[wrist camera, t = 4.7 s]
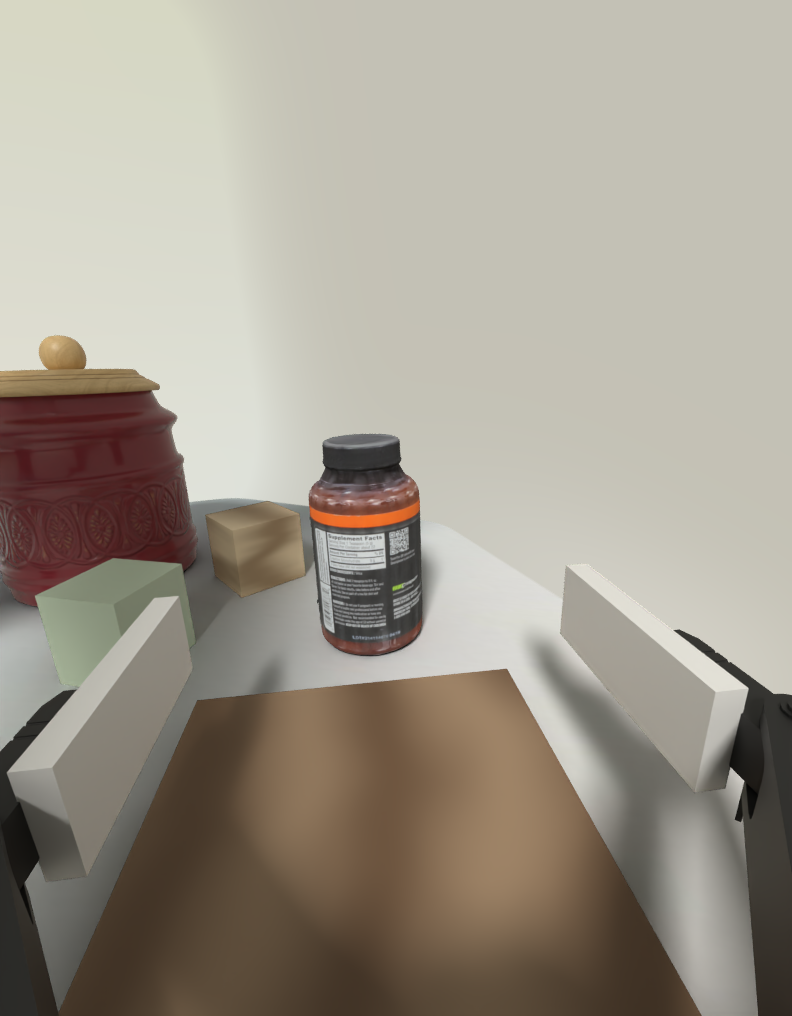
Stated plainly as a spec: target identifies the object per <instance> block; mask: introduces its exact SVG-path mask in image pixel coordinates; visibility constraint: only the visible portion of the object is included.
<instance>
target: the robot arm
mask: <svg viewBox="0 0 792 1016" xmlns="http://www.w3.org/2000/svg"><path fill="white" fill-rule="evenodd" d="M560 634H561V635H562V636H563V637H564V639H565V640H566V641H567V642H568V643H569V645H570V646H571V647H572V648H573V649H574V650H575V652H576V653H577V654H578V655H579V656H580V658H581V659H582V660H583V661H584V662H585V664H586V665H587V666H588V667H589V668H590V669H591V671H592V672H593V673H594V674H595V675H596V677H597V678H598V679H599V680H600V681H601V682H602V684H603V685H604V686H605V687H606V688H607V690H608V691H609V692H610V693H611V694H612V695H613V697H614V698H615V699H616V700H617V701H618V703H619V704H620V705H621V706H622V707H623V709H624V710H625V711H626V712H627V713H628V714H629V716H630V717H631V718H632V719H633V720H634V722H635V723H636V724H637V725H638V726H639V727H640V729H641V730H642V731H643V732H644V733H645V735H646V736H647V737H648V738H649V739H650V740H651V742H652V743H653V744H654V745H655V746H656V748H657V749H658V750H659V751H660V752H661V754H662V755H663V756H664V757H665V758H666V759H667V761H668V762H669V763H670V764H671V765H672V767H673V768H674V769H675V770H676V771H677V772H678V774H679V775H680V776H681V777H682V778H683V780H684V781H685V782H686V783H687V784H688V785H689V787H690V788H691V789H692V790H693V791H694V793H696V792H704V791H711V790H718V789H725V787H726V783H727V779H728V775H729V770H730V767H731V768H732V769H733V770H734V771H735V772H736V773H737V774H738V775H739V776H740V777H741V778H742V779H743V780H744V785H743V789H742V793H741V797H740V801H739V805H738V809H737V813H736V817H735V820H737V821H739V822H741V821H742V818H743V822H744V835H745V848H746V861H747V874H748V887H749V900H750V913H751V926H752V939H753V952H754V965H755V978H756V991H757V1004H758V1016H792V695H787V694H773V693H772V692H770V691H769V690H768V689H766V688H765V687H763V686H762V685H761V684H759V683H758V682H757V681H756V680H754V679H753V678H751V677H750V676H749V675H747V674H746V673H745V672H743V671H742V670H741V669H739V668H738V667H737V666H735V665H734V664H732V663H731V662H730V663H729V662H728V661H727V659H726V658H724V657H723V656H722V655H720V654H719V653H715V651H714V650H713V649H712V648H711V647H709V646H708V645H707V644H705V643H704V642H702V641H701V640H700V639H698V638H696V637H694V636H692V635H690V634H687V633H685V632H683V631H681V630H672V629H671V628H669V627H668V626H667V625H666V624H664V623H663V622H662V621H661V620H659V619H658V618H657V617H655V616H654V615H653V614H651V613H650V612H649V611H648V610H646V609H645V608H644V607H642V606H641V605H640V604H638V603H637V602H636V601H634V600H633V599H632V598H630V597H629V596H628V595H627V594H625V593H624V592H623V591H621V590H620V589H619V588H618V587H616V586H615V585H614V584H612V583H611V582H610V581H609V580H607V579H606V578H605V577H603V576H602V575H601V574H599V573H598V572H597V571H596V570H594V569H593V568H592V567H590V566H589V565H588V564H575V565H566V571H565V582H564V594H563V606H562V617H561V629H560ZM192 670H193V666H192V661H191V656H190V650H189V645H188V640H187V635H186V629H185V624H184V619H183V614H182V608H181V603H180V598H179V596H172V597H160V598H154V599H153V600H152V601H151V602H150V604H149V605H148V606H147V607H146V608H145V610H144V611H143V612H142V613H141V614H140V616H139V617H138V618H137V619H136V620H135V621H134V623H133V624H132V625H131V626H130V627H129V629H128V630H127V631H126V632H125V633H124V634H123V636H122V637H121V638H120V639H119V640H118V642H117V643H116V644H115V645H114V646H113V647H112V649H111V650H110V651H109V652H108V653H107V655H106V656H105V657H104V658H103V659H102V660H101V662H100V663H99V664H98V665H97V666H96V668H95V669H94V670H93V671H92V672H91V674H90V675H89V676H88V677H87V678H86V679H85V681H84V682H83V683H82V684H81V685H80V687H79V688H78V689H77V690H68V691H63V692H61V693H60V694H58V695H57V696H56V697H54V698H53V699H51V700H50V701H48V702H47V703H46V704H44V705H43V706H41V708H40V709H39V710H38V711H37V712H36V713H35V714H34V715H33V716H32V717H31V719H30V720H29V721H28V722H27V723H26V726H23V727H22V728H21V730H20V731H19V732H18V733H17V734H16V735H15V736H14V739H13V741H10V742H9V743H8V744H7V745H6V746H5V747H4V748H3V749H2V750H1V752H0V1016H59V1014H58V1010H57V1006H56V1002H55V998H54V994H53V990H52V986H51V982H50V978H49V974H48V970H47V966H46V962H45V958H44V954H43V950H42V946H41V942H40V938H39V934H38V929H37V925H36V921H35V917H34V913H33V909H32V905H31V901H30V897H29V893H28V891H27V888H26V885H25V881H26V880H27V878H28V876H29V875H30V873H31V872H32V870H33V868H34V867H35V865H36V864H37V862H38V861H39V864H40V867H41V869H42V872H43V875H44V878H45V880H46V882H50V881H58V880H65V879H72V878H79V877H87V876H88V874H89V872H90V870H91V868H92V866H93V864H94V862H95V860H96V858H97V856H98V854H99V852H100V850H101V848H102V846H103V844H104V842H105V840H106V838H107V836H108V834H109V833H110V831H111V829H112V827H113V825H114V823H115V821H116V819H117V817H118V815H119V813H120V811H121V809H122V807H123V805H124V803H125V801H126V799H127V797H128V795H129V793H130V791H131V789H132V787H133V785H134V783H135V781H136V779H137V778H138V776H139V774H140V772H141V770H142V768H143V766H144V764H145V762H146V760H147V758H148V756H149V754H150V752H151V750H152V748H153V746H154V744H155V742H156V740H157V738H158V736H159V734H160V732H161V730H162V728H163V726H164V725H165V723H166V721H167V719H168V717H169V715H170V713H171V711H172V709H173V707H174V705H175V703H176V701H177V699H178V697H179V695H180V693H181V691H182V689H183V687H184V685H185V683H186V681H187V679H188V677H189V675H190V673H191V671H192Z"/></svg>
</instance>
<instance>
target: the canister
mask: <svg viewBox="0 0 792 1016" xmlns="http://www.w3.org/2000/svg"><path fill="white" fill-rule="evenodd" d="M39 356H40V359H41V361H42V363H43V365H44V366H45V367H46V368H47V369H48V370H21V371H0V572H1V573H2V579H3V582H4V583H5V585H6V586H7V587H8V588H9V589H10V590H11V593H12V595H13V597H14V598H15V599H16V600H17V601H19V602H21V603H23V604H27V605H31V606H37V607H38V605H37V602H36V598H35V595H38V594H40V593H42V592H44V591H46V590H48V589H50V588H52V587H54V586H56V585H58V584H61V583H63V582H65V581H67V580H69V579H71V578H73V577H75V576H77V575H79V574H81V573H83V572H86V571H88V570H90V569H92V568H94V567H96V566H98V565H100V564H102V563H104V562H106V561H108V560H111V559H113V558H116V559H128V560H141V561H153V562H165V563H177V564H182V569H183V571H184V570H186V569H187V568H188V567H189V566H190V565H191V564H192V563H193V562H194V560H195V559H196V556H197V552H196V546H197V542H198V538H197V535H196V527H195V525H194V524H193V522H192V516H191V511H190V505H189V499H188V493H187V487H186V482H185V475H184V471H183V462H184V458H183V456H182V455H181V454H179V453H178V452H177V450H176V447H175V443H174V440H173V435H172V430H171V429H172V426H173V424H174V423H175V422H176V420H177V416H176V415H175V414H174V413H172V412H171V411H169V410H167V409H165V408H163V407H162V406H160V404H159V403H158V401H157V399H156V398H155V396H154V394H153V392H152V391H151V390H159V389H160V386H159V384H157V383H155V382H153V381H151V380H149V379H146V378H145V377H143V376H141V375H139V374H138V373H137V371H136V370H133V369H84V368H85V366H86V355H85V352H84V350H83V348H82V347H81V346H80V344H79V343H78V342H77V341H75V340H74V339H72V338H69V337H66V336H50V337H47V338H45V339H44V340H43V341H42V343H41V344H40V347H39Z"/></svg>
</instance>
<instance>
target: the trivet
mask: <svg viewBox="0 0 792 1016" xmlns="http://www.w3.org/2000/svg"><path fill="white" fill-rule="evenodd" d="M58 1014H59V1016H701V1014H700V1012H699V1010H698V1008H697V1007H696V1005H695V1003H694V1001H693V999H692V998H691V996H690V994H689V992H688V991H687V989H686V987H685V985H684V983H683V982H682V980H681V978H680V976H679V975H678V973H677V971H676V969H675V967H674V966H673V964H672V962H671V960H670V959H669V957H668V955H667V953H666V951H665V950H664V948H663V946H662V944H661V942H660V941H659V939H658V937H657V935H656V934H655V932H654V930H653V928H652V926H651V925H650V923H649V921H648V919H647V918H646V916H645V914H644V912H643V910H642V909H641V907H640V905H639V903H638V902H637V900H636V898H635V896H634V894H633V893H632V891H631V889H630V887H629V885H628V884H627V882H626V880H625V878H624V877H623V875H622V873H621V871H620V869H619V868H618V866H617V864H616V862H615V861H614V859H613V857H612V855H611V853H610V852H609V850H608V848H607V846H606V844H605V843H604V841H603V839H602V837H601V836H600V834H599V832H598V830H597V828H596V827H595V825H594V823H593V821H592V820H591V818H590V816H589V814H588V812H587V811H586V809H585V807H584V805H583V804H582V802H581V800H580V798H579V796H578V795H577V793H576V791H575V789H574V787H573V786H572V784H571V782H570V780H569V779H568V777H567V775H566V773H565V771H564V770H563V768H562V766H561V764H560V763H559V761H558V759H557V757H556V755H555V754H554V752H553V750H552V748H551V747H550V745H549V743H548V741H547V739H546V738H545V736H544V734H543V732H542V730H541V729H540V727H539V725H538V723H537V722H536V720H535V718H534V716H533V714H532V713H531V711H530V709H529V707H528V706H527V704H526V702H525V700H524V698H523V697H522V695H521V693H520V691H519V689H518V688H517V686H516V684H515V682H514V681H513V679H512V677H511V675H510V673H509V672H508V670H507V669H500V670H491V671H481V672H471V673H461V674H451V675H442V676H432V677H422V678H412V679H402V680H392V681H383V682H373V683H363V684H353V685H343V686H334V687H324V688H314V689H304V690H294V691H285V692H275V693H265V694H255V695H245V696H236V697H226V698H216V699H206V700H197V702H196V705H195V707H194V709H193V711H192V714H191V716H190V718H189V720H188V723H187V725H186V727H185V729H184V732H183V734H182V736H181V738H180V741H179V743H178V745H177V747H176V750H175V752H174V754H173V756H172V759H171V761H170V763H169V765H168V768H167V770H166V772H165V774H164V777H163V779H162V781H161V783H160V786H159V788H158V790H157V792H156V795H155V797H154V799H153V801H152V804H151V806H150V808H149V810H148V813H147V815H146V817H145V819H144V822H143V824H142V826H141V828H140V831H139V833H138V835H137V837H136V840H135V842H134V844H133V846H132V849H131V851H130V853H129V855H128V858H127V860H126V862H125V864H124V867H123V869H122V871H121V873H120V876H119V878H118V880H117V882H116V885H115V887H114V889H113V891H112V894H111V896H110V898H109V900H108V903H107V905H106V907H105V909H104V912H103V914H102V916H101V918H100V921H99V923H98V925H97V927H96V930H95V932H94V934H93V936H92V939H91V941H90V943H89V945H88V948H87V950H86V952H85V954H84V957H83V959H82V961H81V963H80V966H79V968H78V970H77V972H76V975H75V977H74V979H73V981H72V984H71V986H70V988H69V990H68V993H67V995H66V997H65V999H64V1002H63V1004H62V1006H61V1008H60V1011H59V1013H58Z"/></svg>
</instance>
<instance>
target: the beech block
mask: <svg viewBox="0 0 792 1016" xmlns="http://www.w3.org/2000/svg"><path fill="white" fill-rule="evenodd" d="M205 516H206V522H207V529H208V535H209V541H210V547H211V553H212V559H213V565H214V572H215V576H216V577H217V578H219V579H220V580H221V581H222V582H224V583H225V584H226V585H227V586H228V587H230V588H231V589H232V590H233V591H234V592H236V593H237V594H238V595H239V596H240V597H242V598H243V597H246V596H249V595H252V594H254V593H257V592H260V591H263V590H266V589H269V588H271V587H274V586H277V585H280V584H283V583H286V582H288V581H291V580H294V579H297V578H300V577H303V576H305V575H306V574H305V564H304V554H303V544H302V534H301V524H300V514H299V513H297V512H294V511H292V510H289V509H287V508H284V507H282V506H279V505H277V504H274V503H272V502H269V501H266V502H261V503H257V504H252V505H248V506H243V507H239V508H234V509H229V510H225V511H220V512H216V513H211V514H207V515H205Z"/></svg>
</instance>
